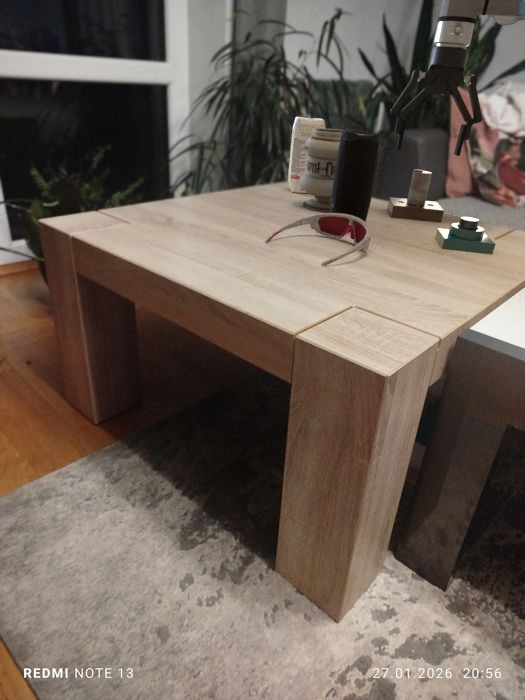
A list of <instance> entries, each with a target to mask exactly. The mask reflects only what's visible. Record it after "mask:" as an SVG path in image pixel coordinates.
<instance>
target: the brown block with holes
mask: <svg viewBox="0 0 525 700" xmlns="http://www.w3.org/2000/svg"><path fill="white" fill-rule="evenodd" d="M407 199H408V198H402V197H392V196H389V197H388V202H387V208H386V209H387V212H388V214H389V216H390V218H391V219H399V220H401V219H402V220H410V221H419V222H429V223H439V224H441V223H442V220H443V217H444V212H445V210H444V208H443V207H442V206H441V204H439V202H437V201H433V200H432V201H431V200H426V202H425V205H413V204H409V203H407Z"/></svg>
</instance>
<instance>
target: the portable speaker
mask: <svg viewBox="0 0 525 700" xmlns="http://www.w3.org/2000/svg"><path fill="white" fill-rule="evenodd" d="M342 130H343V131H342V135H341V140H340V144H339V149H338V153H337V158H336V165H335V172H334V179H333V186H332V193H331V208H330V212H329V213H341V214H348V215H352V216H355V217H358V218H360V219H362V220H363V221H365V222H366V223H367V219H368V215H369V210H370V206H371V203H372V197H373V191H374V187H375V186H374V185H375V180H376V174H377V168H378V161H379V150H380V149H379V147H380V140H381V133H380V132H376V133H375V132H374V133H372V132H368V131H367V130H364V129H353V128H352V129H349V130H346V129H342ZM350 231H351V229H350V230H349V231H348V232H350Z"/></svg>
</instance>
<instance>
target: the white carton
mask: <svg viewBox="0 0 525 700" xmlns="http://www.w3.org/2000/svg"><path fill="white" fill-rule="evenodd" d="M317 128H324V129H326V121H325V120H324V119H323V118H320V117H319V118H317V117H316V118H315V117H313V118H312V117H303V116H295V118H294V121H293V126H292V131H291V132H292V133H291V141H290V142H291V143H290V152H289V153H290V154H289V163H288V176H287V180H288V186H289V189H290V192H291V193H298V194H299V193H300V194H308V193H307V192H306V191H304V190H303V188H302V187H301V183H300V182H301V178H302V177H303V176H304V175H305V174H306V171H307V162H308V153H307V152H306V151H305V149H304V145H305V142H306V141H307V140H308V139H309V138H311V135H312V132H313V129H317Z"/></svg>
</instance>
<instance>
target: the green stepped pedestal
mask: <svg viewBox="0 0 525 700" xmlns="http://www.w3.org/2000/svg"><path fill="white" fill-rule="evenodd" d="M458 226H459V222H452V223H451V224H450V226H449V229H448V228H441V227H440V228H438V227H437V228H436V232H435V236H434V239H435V241H436V242H437V244H438V245H439V247H440V249H442V250H448V251H457V252H458V251H459V252H466V253H467V252H468V253H474V254H475V253H477V254H487V255H493V254H494V250H495V246H496V243H495V242H494V241H493V239H491V238H490V237H489V235H487V233H486V232H485V231H486V229H485V228H484V227H482V226H479V225H478V227H477V230H467V229H463V228H460V227H458Z"/></svg>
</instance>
